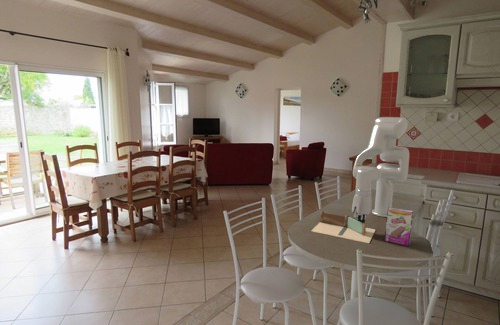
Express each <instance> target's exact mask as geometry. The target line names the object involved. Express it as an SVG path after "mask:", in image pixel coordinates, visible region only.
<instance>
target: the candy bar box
mask: <svg viewBox="0 0 500 325" xmlns="http://www.w3.org/2000/svg"><path fill="white" fill-rule="evenodd" d="M413 220H414V210H408V209H403V208H396V207H392V208H391V207H389V208H388V210H387V217H386V221H385V229H384V230H385V232H384V242H388V243H392V244H397V245H400V246H401V245H402V246H405V247H406V246H407V247H410V245H411V239H412V238H411V237H412V230H413V229H412V228H413Z"/></svg>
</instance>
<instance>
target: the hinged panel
mask: <svg viewBox="0 0 500 325" xmlns="http://www.w3.org/2000/svg"><path fill="white" fill-rule="evenodd" d="M347 227H349V228H351V229H353V230H355V231H357V232H359V233H361V234H362V235H365V232H366V228H367V223H366V222H365V223H362V222H359V221H358V219H357V220H356V219H354V218H353V217H350V216H349V217H348V226H347Z"/></svg>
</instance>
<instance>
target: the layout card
mask: <svg viewBox="0 0 500 325" xmlns="http://www.w3.org/2000/svg"><path fill="white" fill-rule="evenodd" d="M310 232H312V233H316V234H320V235H325V236H330V237H336V238H338V239H339V238H340V239H344V240H350V241H354V242H359V243H363V244H370V243H371V241H372V239H373V237H374V235H375V233H376V229H374V228H370V227H369V228H368V227H366V232H365V235H362V234H361V233H359V232H357V231H355V230H353V229H351V228H349V227H345V226H339V225H334V224H329V223H324V222H320V221H319V222H318V223H317V224H316V225H315V226H314V227H313V229H311V230H310Z"/></svg>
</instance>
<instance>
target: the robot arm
mask: <svg viewBox="0 0 500 325" xmlns="http://www.w3.org/2000/svg"><path fill="white" fill-rule="evenodd" d="M408 123H409V122H408V120H407V118H405V117H400V116H399V117H397V116H395V117H393V116H390V117H389V116H385V117H384V116H382V117H381V116H380V117H377V118H376V119H375V121H374V126H372V130H371V135H370V137H369V138H370V139H369V141H368V145H367V147H366V148H365V149H364V150H363V151H362V152H360V153H359V155H357V157H356V159H355V161H354V164H353V168H352V176H353V178H355V179H356V181H355V194H354V196H353V198H352V199H353V200H352V204H351V205H352V206H351V214H353V217H354V218H356V219H357V221H359V222H362V223H366V219H367V216H369V215H370V213H372V214H373V215H374V216H377V217H384V218H387V210H388V208H389V207H391V208H393V205H392V204H393V197H394V196H393V194H394V185H393V182H392V181H397V182H398V181H399V182H404V181H405V182H406V180H407V179H408V175H409V164H410V163H409V162H410V151H409V149H408V147H405V146H397V140H398V139H400V138H401V137H402V136H403V135H404V134H405V133H406V131H407V129H408V125H409V124H408ZM378 155H379V159H380V160H381V161H383V162H384V163H379V164H378V165H377V166H368V165H363V163H364V162H365V161H366V160H367V159H369V158H372V157H374V156H378ZM385 162H387V163H385ZM393 163H394V164H393ZM395 163H398V164H395ZM373 182H376V186H375V188H376V189H375V200H374V209H372V208H373V207H372V204H373V203H372V202H373V201H372V183H373Z"/></svg>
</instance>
